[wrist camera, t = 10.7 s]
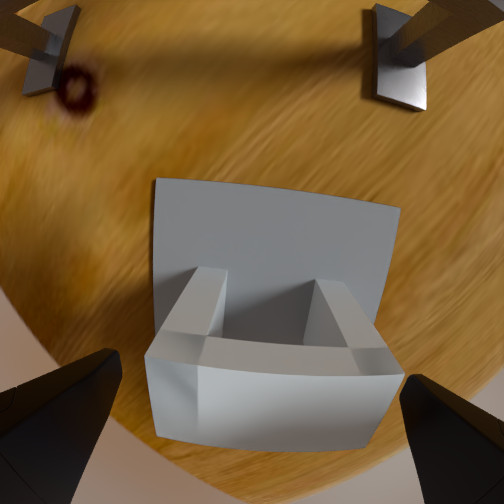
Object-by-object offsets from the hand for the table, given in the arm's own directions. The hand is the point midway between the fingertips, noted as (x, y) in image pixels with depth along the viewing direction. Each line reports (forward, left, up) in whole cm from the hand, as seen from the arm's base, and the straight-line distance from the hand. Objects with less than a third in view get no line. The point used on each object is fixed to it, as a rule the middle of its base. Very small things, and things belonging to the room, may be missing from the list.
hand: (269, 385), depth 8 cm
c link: (0, 0, -5) cm, 5 cm away
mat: (0, 0, -5) cm, 5 cm away
